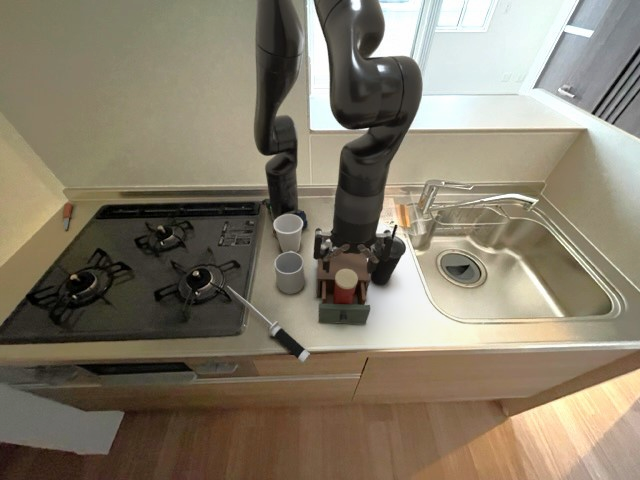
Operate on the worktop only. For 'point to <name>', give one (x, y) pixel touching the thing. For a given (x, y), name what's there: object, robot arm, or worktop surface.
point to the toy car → (299, 214)
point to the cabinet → (343, 262)
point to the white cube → (383, 228)
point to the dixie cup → (288, 232)
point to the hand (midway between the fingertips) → (348, 270)
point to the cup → (289, 272)
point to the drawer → (343, 306)
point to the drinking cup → (387, 267)
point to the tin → (344, 286)
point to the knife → (278, 332)
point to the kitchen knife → (67, 214)
